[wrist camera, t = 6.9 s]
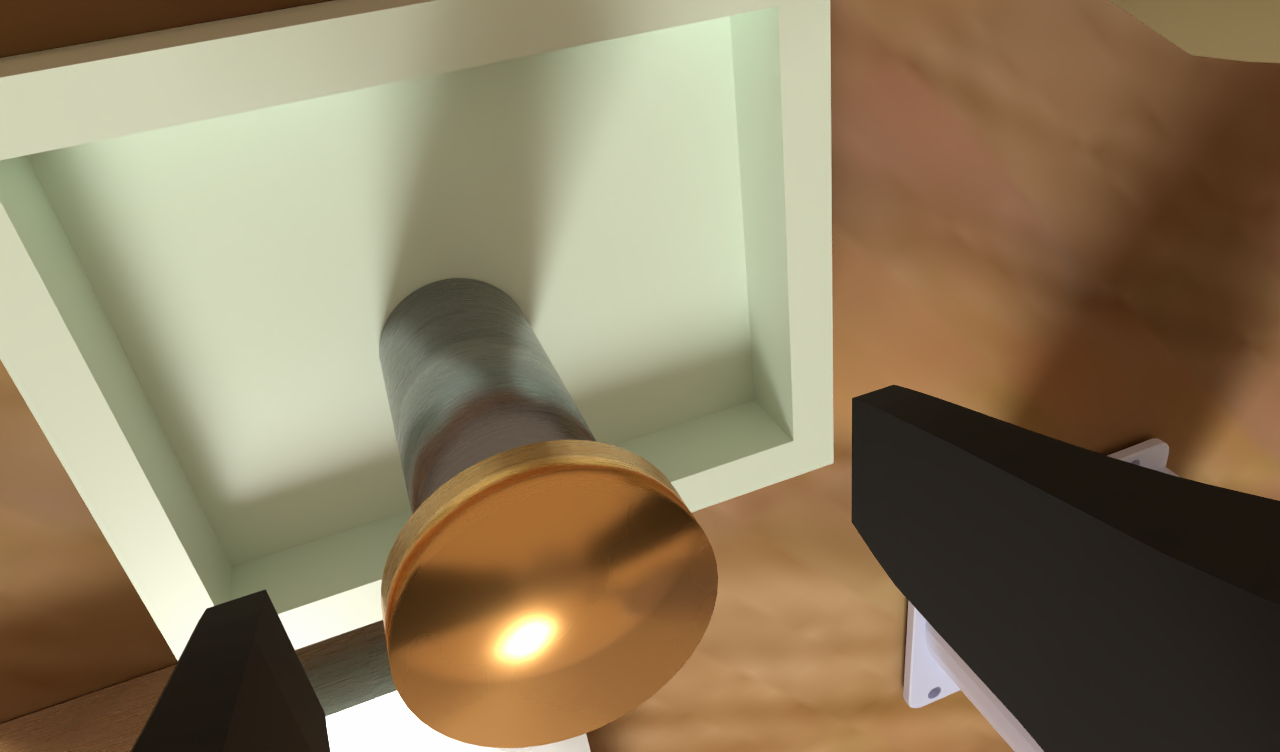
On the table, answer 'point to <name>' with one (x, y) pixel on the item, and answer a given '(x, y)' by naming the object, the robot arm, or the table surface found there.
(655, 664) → the copper-topped gray cylinder
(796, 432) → the tray
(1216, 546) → the robot arm
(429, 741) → the block
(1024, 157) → the table surface
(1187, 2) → the squeeze bottle
